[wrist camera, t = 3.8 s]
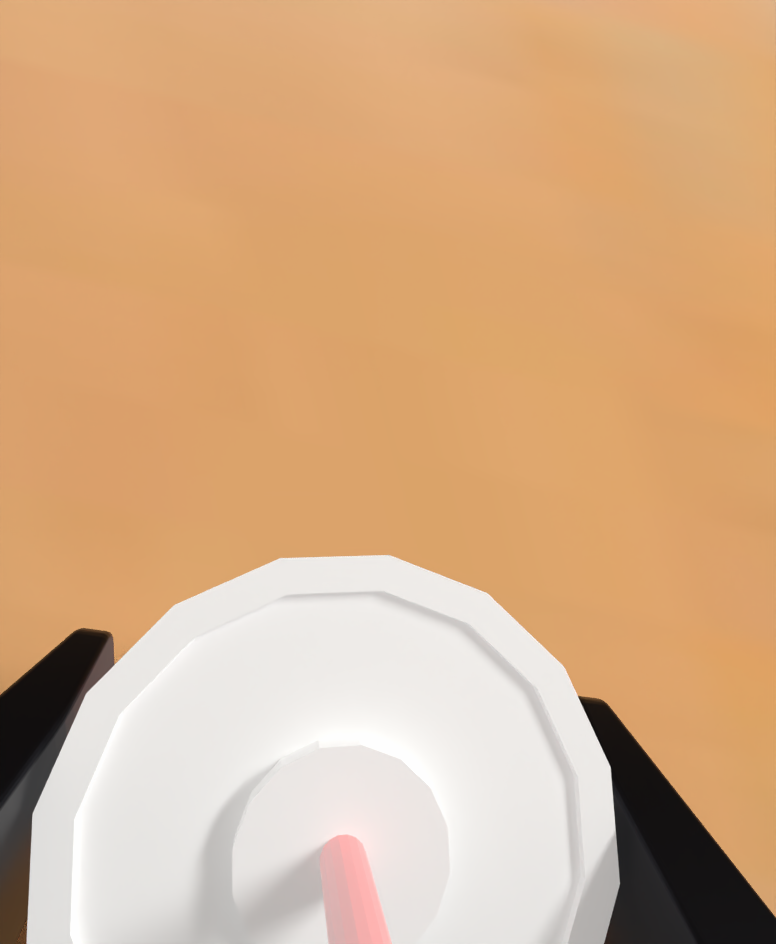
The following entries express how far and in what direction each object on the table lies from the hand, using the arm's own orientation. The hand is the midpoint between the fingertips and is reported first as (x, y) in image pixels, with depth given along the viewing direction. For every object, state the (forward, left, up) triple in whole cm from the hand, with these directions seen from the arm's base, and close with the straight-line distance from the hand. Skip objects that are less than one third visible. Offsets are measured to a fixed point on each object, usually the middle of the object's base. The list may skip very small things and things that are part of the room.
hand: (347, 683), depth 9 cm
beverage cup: (-1, -1, -7) cm, 7 cm away
